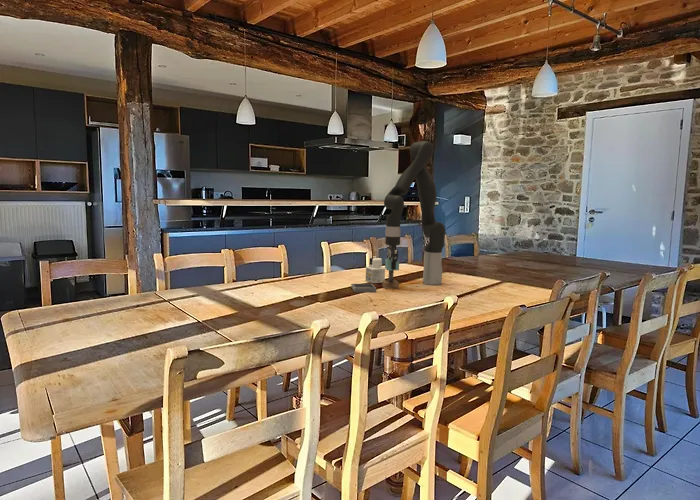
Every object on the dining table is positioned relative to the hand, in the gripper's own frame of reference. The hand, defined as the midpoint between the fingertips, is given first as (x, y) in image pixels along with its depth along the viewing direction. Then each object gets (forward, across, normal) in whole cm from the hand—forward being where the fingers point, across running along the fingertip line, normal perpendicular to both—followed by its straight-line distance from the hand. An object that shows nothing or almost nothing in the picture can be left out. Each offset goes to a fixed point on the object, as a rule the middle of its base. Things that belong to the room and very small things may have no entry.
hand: (391, 268), depth 243 cm
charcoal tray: (+10, -5, +16) cm, 19 cm away
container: (+10, +15, +5) cm, 19 cm away
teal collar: (+1, 0, 0) cm, 1 cm away
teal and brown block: (+10, 0, 0) cm, 10 cm away
